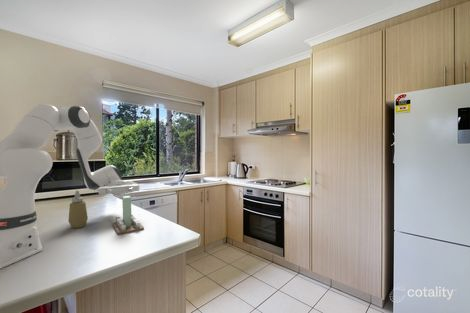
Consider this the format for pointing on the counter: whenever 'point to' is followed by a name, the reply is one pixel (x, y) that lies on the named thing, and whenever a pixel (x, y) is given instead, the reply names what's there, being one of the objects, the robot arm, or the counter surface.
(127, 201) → the sage slat
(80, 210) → the squeeze bottle
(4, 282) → the counter surface
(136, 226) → the walnut channel board
